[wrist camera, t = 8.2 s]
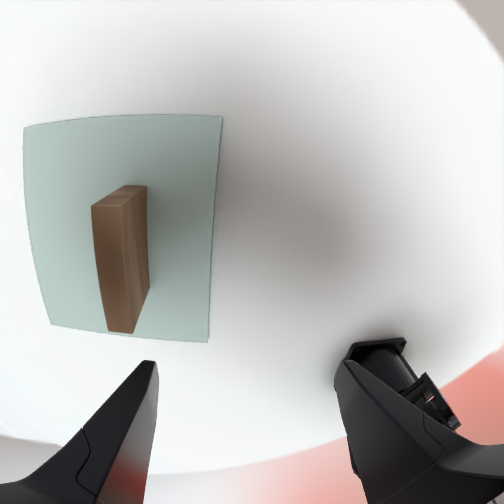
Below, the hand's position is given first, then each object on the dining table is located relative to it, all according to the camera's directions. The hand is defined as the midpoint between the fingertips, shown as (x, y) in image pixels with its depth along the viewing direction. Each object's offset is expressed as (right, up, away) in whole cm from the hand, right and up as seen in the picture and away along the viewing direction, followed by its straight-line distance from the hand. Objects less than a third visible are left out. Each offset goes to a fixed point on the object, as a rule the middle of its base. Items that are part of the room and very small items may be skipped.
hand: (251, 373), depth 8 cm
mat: (-9, +5, +9) cm, 14 cm away
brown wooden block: (-7, +5, +8) cm, 12 cm away
